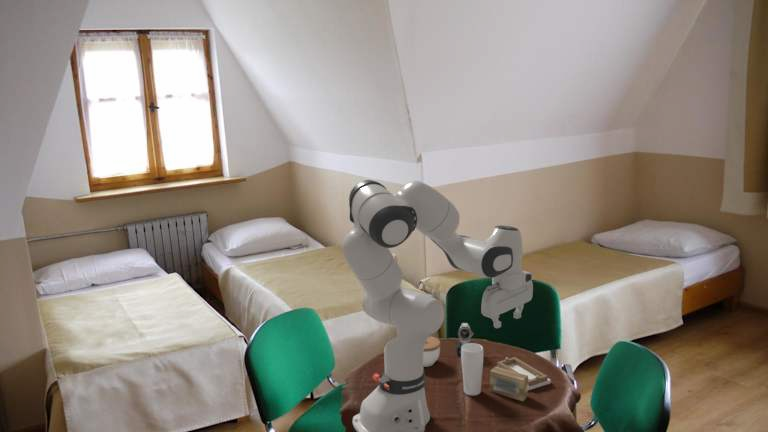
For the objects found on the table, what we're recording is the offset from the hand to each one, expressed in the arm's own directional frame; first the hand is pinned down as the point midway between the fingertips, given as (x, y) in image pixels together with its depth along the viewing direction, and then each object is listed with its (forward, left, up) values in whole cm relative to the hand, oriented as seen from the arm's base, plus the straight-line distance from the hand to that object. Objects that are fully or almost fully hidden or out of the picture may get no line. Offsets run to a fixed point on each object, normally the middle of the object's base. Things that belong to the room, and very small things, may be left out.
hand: (507, 322), depth 183 cm
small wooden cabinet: (+11, +6, -23) cm, 26 cm away
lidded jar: (-11, +31, -24) cm, 40 cm away
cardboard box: (0, -1, -23) cm, 23 cm away
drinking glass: (-9, +6, -24) cm, 26 cm away
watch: (+5, +30, -24) cm, 39 cm away
